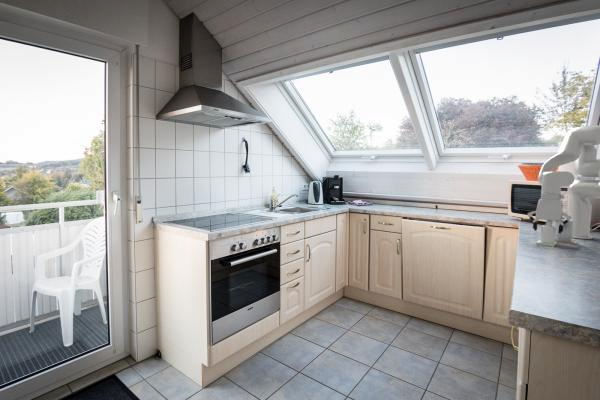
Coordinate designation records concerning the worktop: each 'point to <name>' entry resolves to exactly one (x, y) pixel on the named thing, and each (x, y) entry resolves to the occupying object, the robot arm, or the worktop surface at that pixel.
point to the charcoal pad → (567, 246)
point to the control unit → (564, 232)
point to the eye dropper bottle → (547, 232)
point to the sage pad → (546, 243)
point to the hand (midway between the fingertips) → (547, 231)
